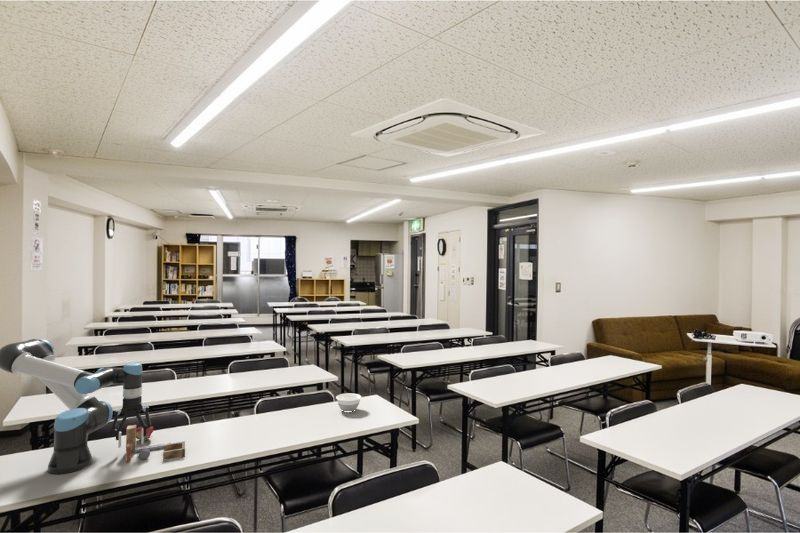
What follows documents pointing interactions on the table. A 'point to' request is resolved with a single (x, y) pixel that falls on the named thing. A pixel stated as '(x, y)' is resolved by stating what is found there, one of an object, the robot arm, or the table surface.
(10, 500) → the table surface
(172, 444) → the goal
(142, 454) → the ball
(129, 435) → the tan and red block
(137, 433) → the flower
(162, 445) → the rail
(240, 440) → the table surface
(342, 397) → the bowl
